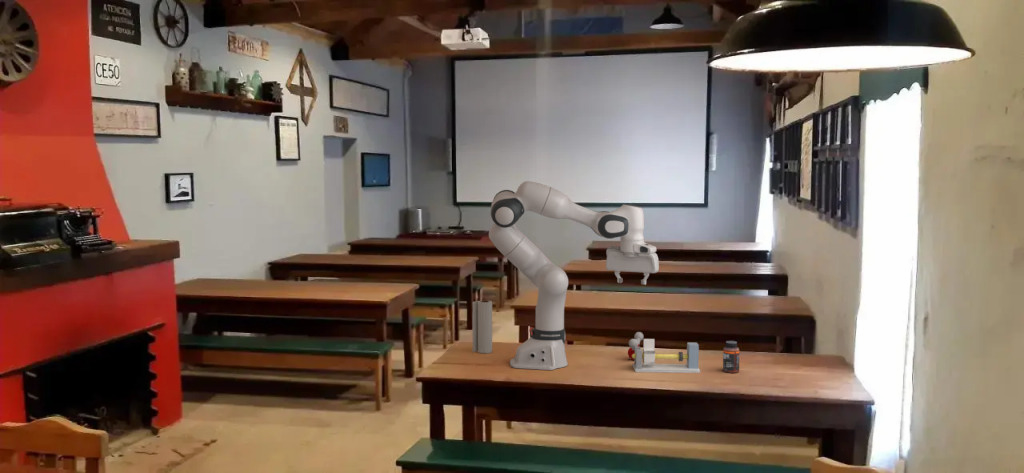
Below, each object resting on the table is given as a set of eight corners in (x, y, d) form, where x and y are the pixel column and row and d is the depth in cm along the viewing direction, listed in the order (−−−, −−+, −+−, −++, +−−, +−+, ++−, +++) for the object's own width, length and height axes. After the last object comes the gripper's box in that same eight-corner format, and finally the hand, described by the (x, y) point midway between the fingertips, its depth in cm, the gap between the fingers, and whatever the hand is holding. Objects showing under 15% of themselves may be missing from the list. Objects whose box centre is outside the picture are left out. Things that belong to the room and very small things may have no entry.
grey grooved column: (495, 351, 329) (495, 300, 327) (487, 354, 324) (487, 302, 322) (480, 349, 332) (480, 299, 331) (472, 352, 327) (472, 301, 325)
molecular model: (638, 365, 306) (638, 340, 305) (623, 364, 307) (624, 339, 306) (644, 355, 322) (645, 331, 321) (631, 354, 324) (631, 330, 323)
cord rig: (633, 372, 295) (633, 345, 295) (630, 366, 304) (630, 340, 304) (700, 372, 295) (700, 346, 294) (695, 366, 304) (695, 341, 303)
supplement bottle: (738, 370, 299) (739, 340, 298) (739, 374, 293) (740, 343, 292) (722, 369, 300) (723, 339, 299) (723, 373, 294) (723, 343, 293)
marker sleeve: (644, 364, 297) (644, 340, 296) (642, 361, 302) (642, 337, 301) (654, 364, 297) (655, 340, 296) (653, 361, 302) (653, 337, 301)
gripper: (603, 246, 300) (603, 282, 301) (654, 249, 290) (654, 286, 291) (609, 245, 306) (609, 280, 307) (660, 247, 295) (660, 284, 297)
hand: (631, 283), depth 299 cm, fingers open, 8 cm apart
